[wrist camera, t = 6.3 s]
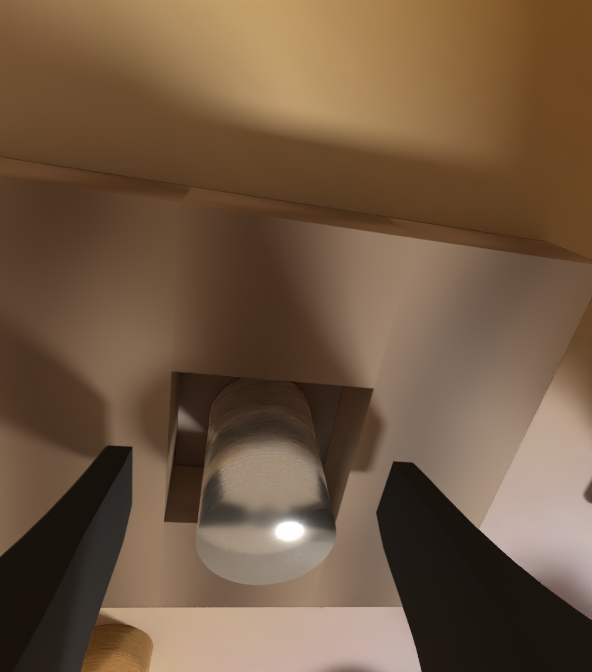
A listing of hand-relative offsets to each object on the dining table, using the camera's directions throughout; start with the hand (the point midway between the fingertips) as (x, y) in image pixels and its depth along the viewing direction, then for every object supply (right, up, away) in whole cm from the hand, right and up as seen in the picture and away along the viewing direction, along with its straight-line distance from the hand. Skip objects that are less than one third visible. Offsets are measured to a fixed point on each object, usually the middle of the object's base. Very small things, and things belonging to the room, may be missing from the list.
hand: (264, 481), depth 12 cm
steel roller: (0, +1, +3) cm, 3 cm away
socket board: (0, +1, +3) cm, 3 cm away
